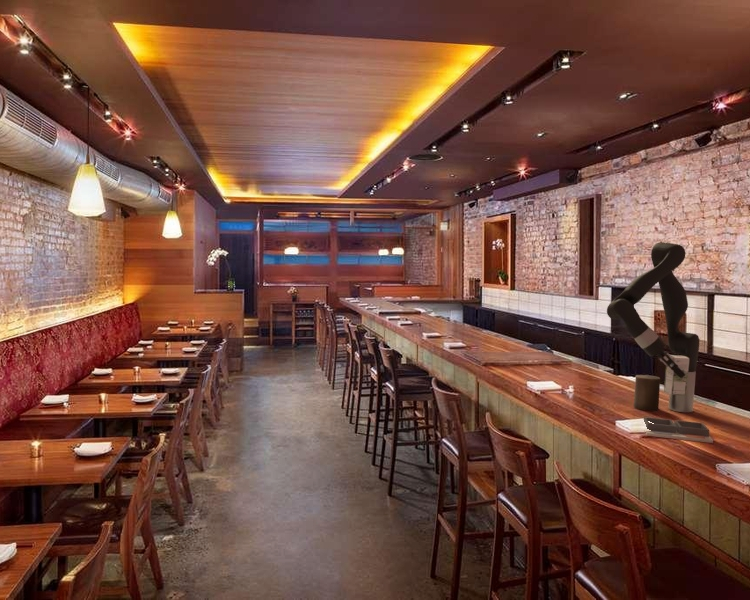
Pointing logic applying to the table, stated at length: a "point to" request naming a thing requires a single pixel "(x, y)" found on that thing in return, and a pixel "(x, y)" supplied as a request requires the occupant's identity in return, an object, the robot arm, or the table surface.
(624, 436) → the table surface
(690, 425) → the socket board
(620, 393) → the table surface
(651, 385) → the pillar candle
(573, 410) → the table surface
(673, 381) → the syrup box
